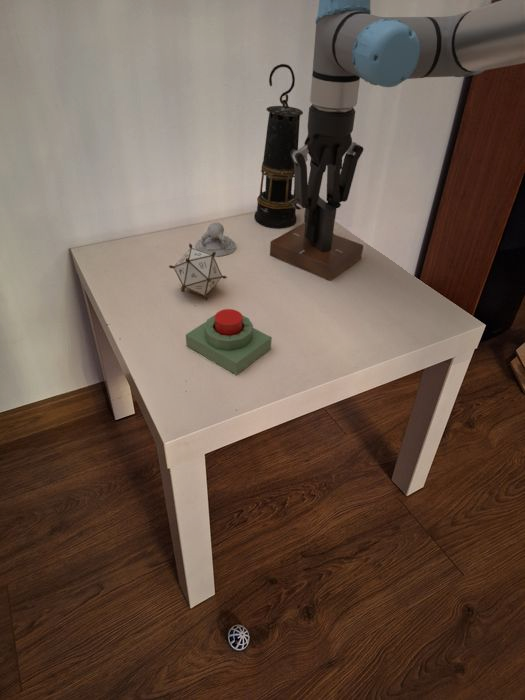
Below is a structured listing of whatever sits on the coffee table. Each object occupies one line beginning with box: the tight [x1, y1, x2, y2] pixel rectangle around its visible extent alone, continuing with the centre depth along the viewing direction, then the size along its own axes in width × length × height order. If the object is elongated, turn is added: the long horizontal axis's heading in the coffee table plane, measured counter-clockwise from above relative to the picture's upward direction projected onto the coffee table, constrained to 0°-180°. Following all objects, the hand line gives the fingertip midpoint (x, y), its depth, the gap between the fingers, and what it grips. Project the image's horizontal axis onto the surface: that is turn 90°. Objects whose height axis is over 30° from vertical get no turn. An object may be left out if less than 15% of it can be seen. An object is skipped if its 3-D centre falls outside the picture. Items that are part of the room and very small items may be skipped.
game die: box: [168, 242, 228, 302], centre depth 89 cm, size 9×8×10 cm
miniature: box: [194, 222, 237, 257], centre depth 103 cm, size 8×8×5 cm
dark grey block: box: [304, 195, 337, 252], centre depth 98 cm, size 7×2×8 cm, turn 24°
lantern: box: [254, 63, 304, 229], centre depth 106 cm, size 9×9×30 cm
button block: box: [185, 314, 272, 376], centre depth 79 cm, size 10×8×4 cm
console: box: [269, 222, 364, 282], centre depth 102 cm, size 14×11×3 cm
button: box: [214, 308, 243, 336], centre depth 77 cm, size 4×4×2 cm
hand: (317, 238), depth 100 cm, fingers closed on dark grey block, 2 cm apart
